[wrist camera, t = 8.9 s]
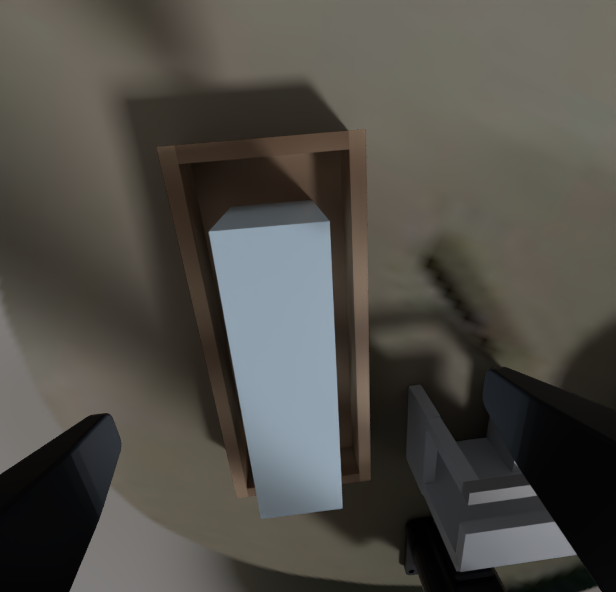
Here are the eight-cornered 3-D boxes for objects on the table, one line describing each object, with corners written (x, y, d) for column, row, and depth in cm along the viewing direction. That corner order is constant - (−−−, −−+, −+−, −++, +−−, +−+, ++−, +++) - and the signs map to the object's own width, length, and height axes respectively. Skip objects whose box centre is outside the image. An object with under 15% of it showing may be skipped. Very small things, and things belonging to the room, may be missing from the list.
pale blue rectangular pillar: (326, 421, 22) (342, 508, 17) (264, 428, 22) (260, 519, 17) (312, 200, 17) (329, 221, 11) (230, 206, 17) (208, 231, 11)
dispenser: (494, 446, 26) (580, 559, 18) (405, 458, 25) (457, 578, 18) (507, 373, 23) (611, 472, 16) (408, 385, 23) (469, 491, 16)
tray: (359, 443, 24) (370, 480, 22) (241, 458, 24) (237, 498, 21) (351, 133, 17) (365, 129, 14) (176, 148, 16) (156, 146, 14)
